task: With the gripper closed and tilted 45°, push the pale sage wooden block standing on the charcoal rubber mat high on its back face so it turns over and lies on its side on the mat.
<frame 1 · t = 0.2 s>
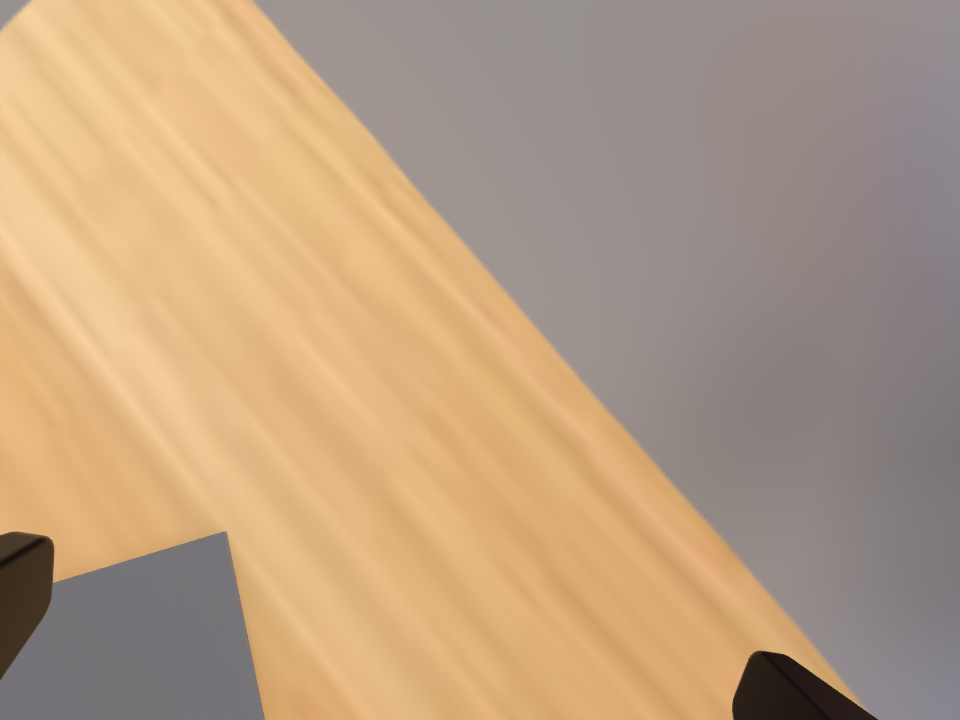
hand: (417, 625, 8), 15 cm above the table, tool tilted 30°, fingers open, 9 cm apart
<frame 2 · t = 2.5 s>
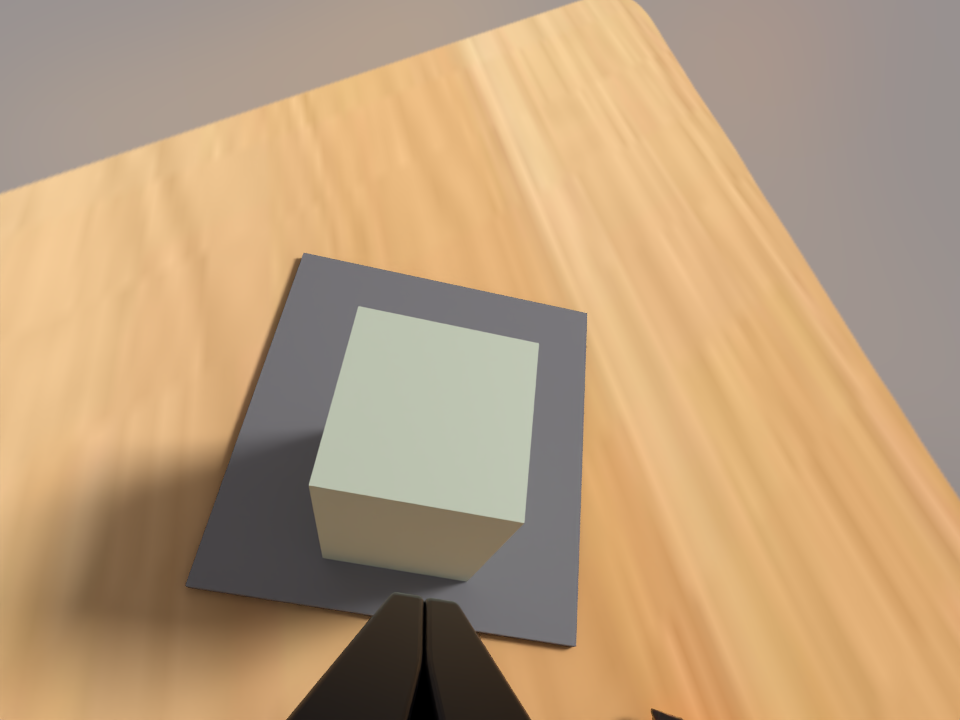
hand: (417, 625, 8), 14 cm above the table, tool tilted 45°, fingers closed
rubber mat: (421, 427, 24), on the table
sage block: (408, 499, 22), resting on rubber mat
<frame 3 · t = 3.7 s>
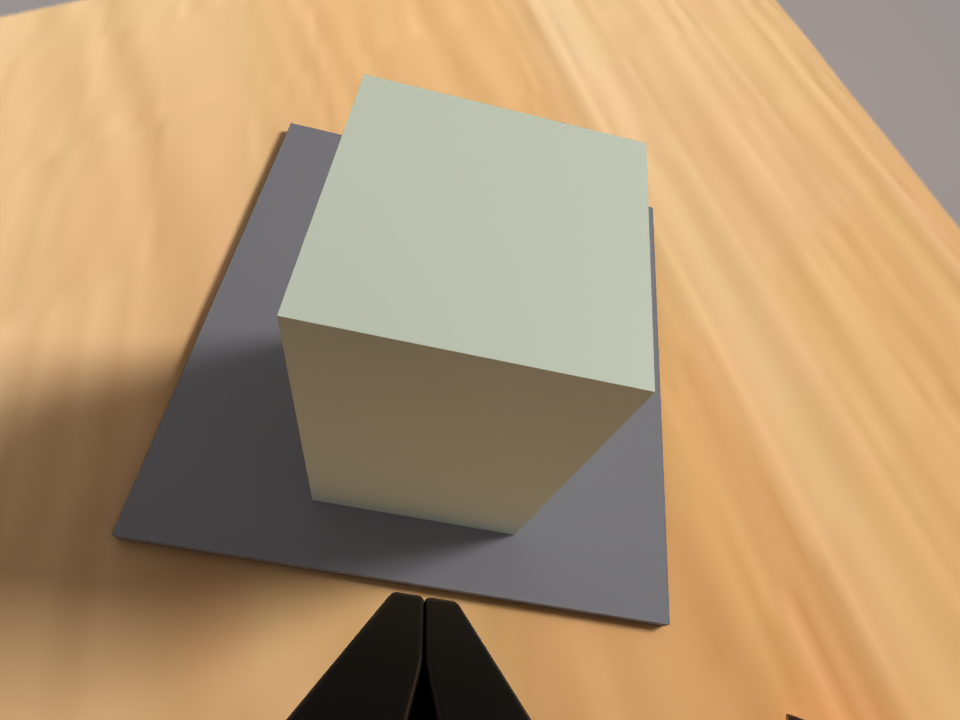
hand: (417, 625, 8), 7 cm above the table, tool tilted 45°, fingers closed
rubber mat: (446, 336, 18), on the table
sage block: (431, 424, 16), resting on rubber mat
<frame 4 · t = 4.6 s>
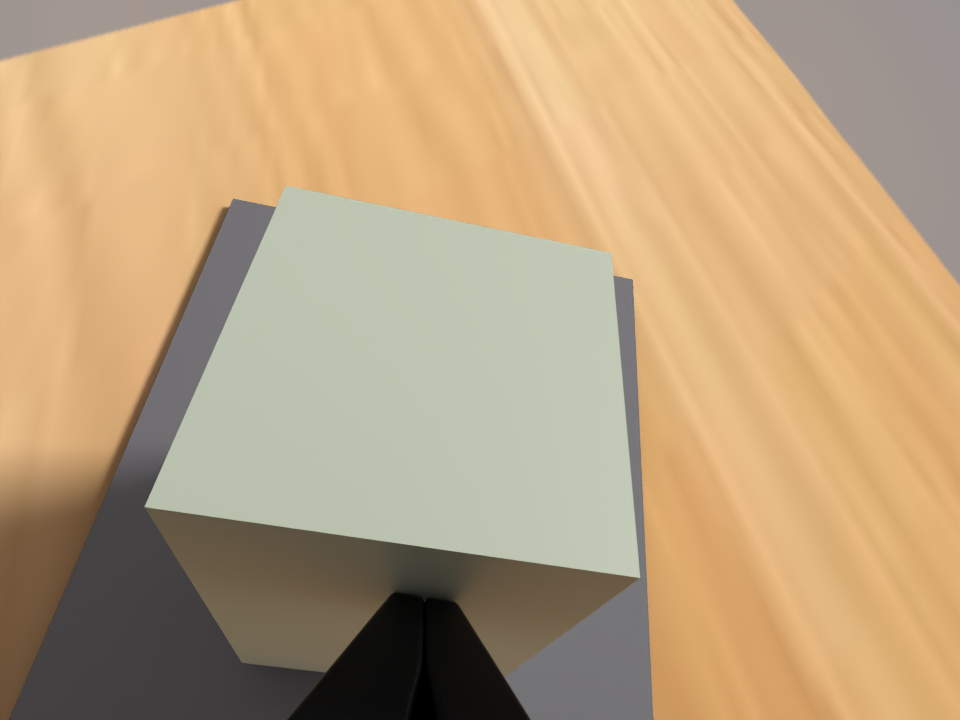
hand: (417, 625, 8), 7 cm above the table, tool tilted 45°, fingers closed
rubber mat: (405, 446, 16), on the table
sage block: (386, 556, 14), point 1 cm above the table, tilted 7°, touching gripper, rubber mat
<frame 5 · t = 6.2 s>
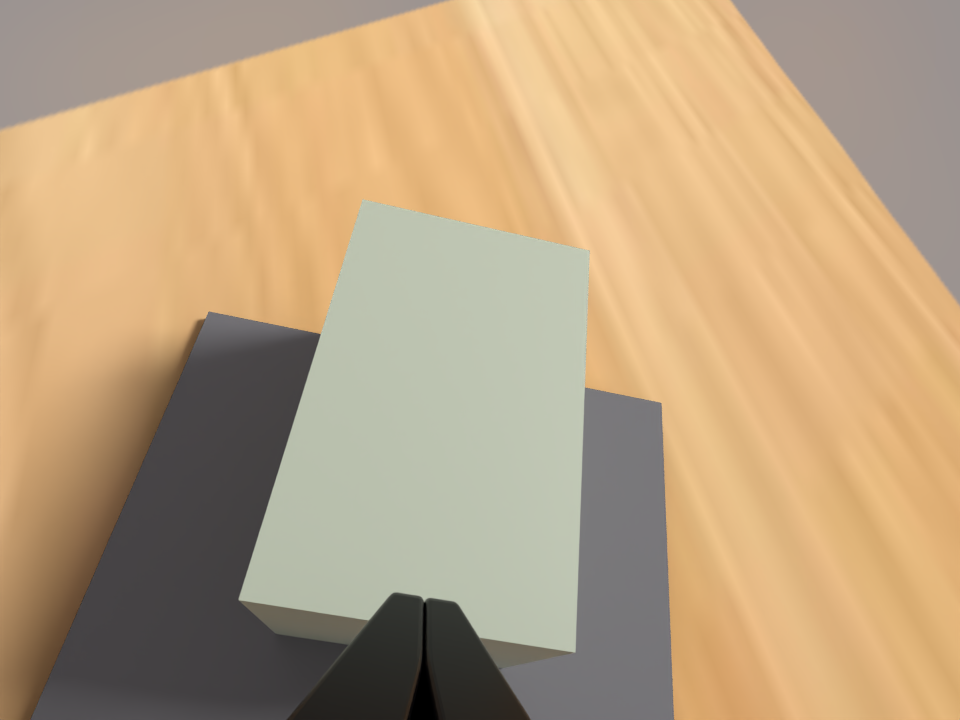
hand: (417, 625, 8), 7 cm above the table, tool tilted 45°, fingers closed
rubber mat: (395, 628, 14), on the table
sage block: (399, 641, 11), point 3 cm above the table, tilted 90°, touching rubber mat
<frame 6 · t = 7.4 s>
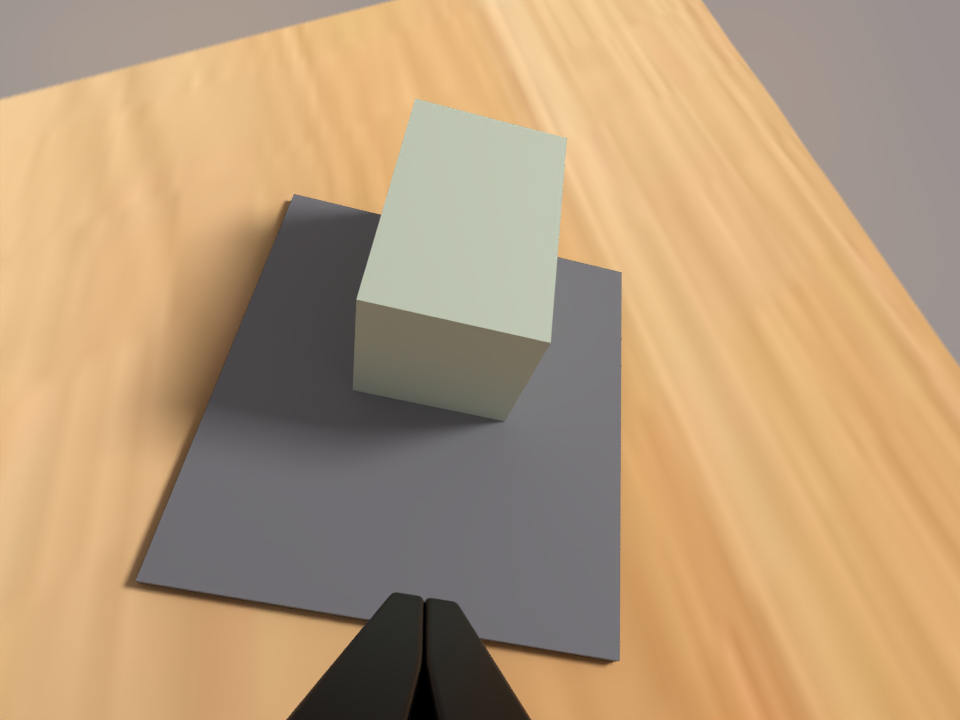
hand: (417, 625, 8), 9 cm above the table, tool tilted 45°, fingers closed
rubber mat: (431, 396, 20), on the table
sage block: (440, 368, 17), point 3 cm above the table, tilted 90°, touching rubber mat
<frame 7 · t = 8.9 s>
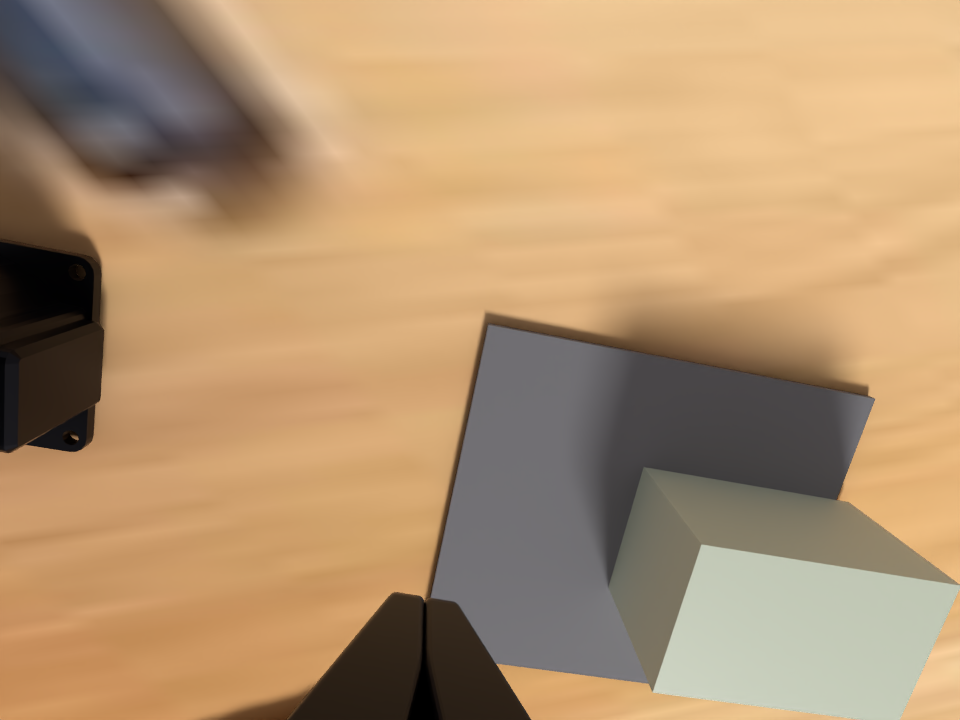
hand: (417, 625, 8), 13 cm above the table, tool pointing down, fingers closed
rubber mat: (635, 526, 22), on the table
sage block: (647, 569, 19), point 3 cm above the table, tilted 90°, touching rubber mat
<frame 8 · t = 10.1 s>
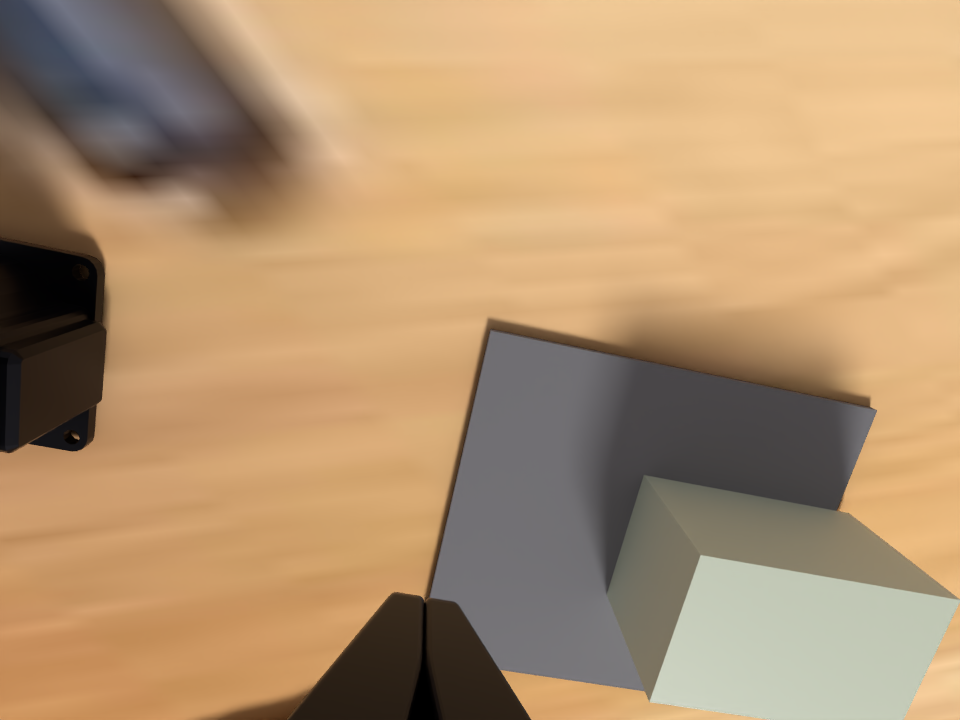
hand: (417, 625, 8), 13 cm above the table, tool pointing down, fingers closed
rubber mat: (635, 534, 22), on the table
sage block: (646, 577, 19), point 3 cm above the table, tilted 90°, touching rubber mat
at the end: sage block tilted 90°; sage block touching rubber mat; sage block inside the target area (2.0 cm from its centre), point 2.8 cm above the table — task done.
